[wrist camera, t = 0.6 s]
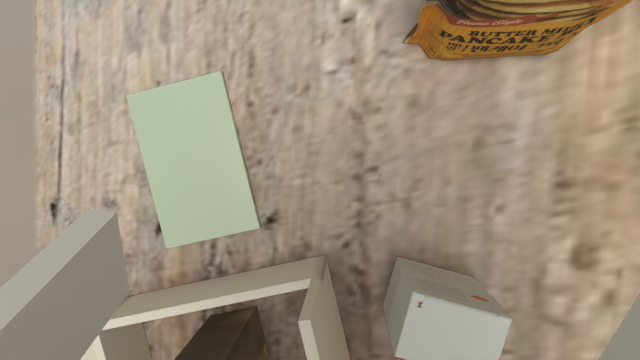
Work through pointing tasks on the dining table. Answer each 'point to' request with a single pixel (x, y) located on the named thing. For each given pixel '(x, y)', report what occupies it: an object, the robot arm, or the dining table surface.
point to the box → (228, 338)
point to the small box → (442, 315)
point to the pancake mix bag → (503, 26)
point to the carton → (314, 322)
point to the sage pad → (194, 160)
